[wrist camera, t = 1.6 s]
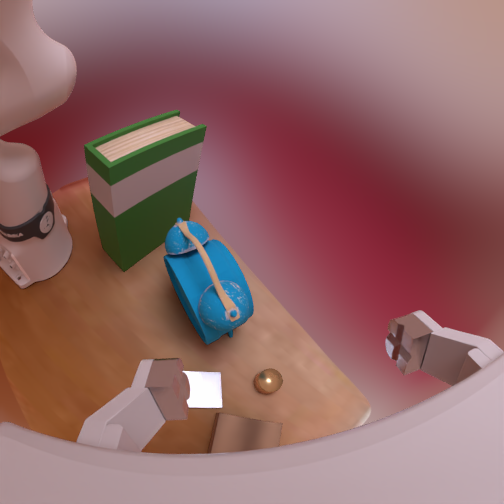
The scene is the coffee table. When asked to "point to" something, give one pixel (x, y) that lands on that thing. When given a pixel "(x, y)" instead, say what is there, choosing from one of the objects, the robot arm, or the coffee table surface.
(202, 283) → the alarm clock
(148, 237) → the hardback book
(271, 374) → the brass knob
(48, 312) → the coffee table surface
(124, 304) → the coffee table surface
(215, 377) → the steel plate
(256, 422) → the stand
